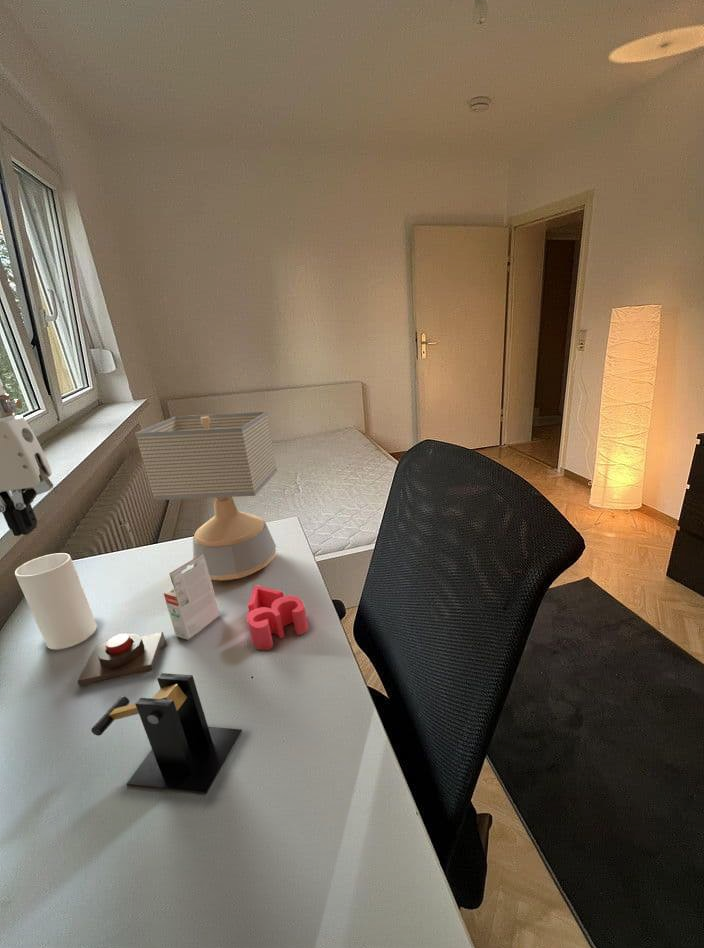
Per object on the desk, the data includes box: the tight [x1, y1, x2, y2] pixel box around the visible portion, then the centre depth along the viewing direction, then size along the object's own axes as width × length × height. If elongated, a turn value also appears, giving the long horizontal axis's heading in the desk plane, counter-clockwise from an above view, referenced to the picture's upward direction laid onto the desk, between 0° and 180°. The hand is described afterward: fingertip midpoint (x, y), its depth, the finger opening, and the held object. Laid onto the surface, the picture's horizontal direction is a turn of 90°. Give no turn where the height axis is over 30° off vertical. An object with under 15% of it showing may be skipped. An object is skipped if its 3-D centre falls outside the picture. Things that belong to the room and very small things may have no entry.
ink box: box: [163, 554, 221, 641], centre depth 84 cm, size 4×8×15 cm, turn 156°
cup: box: [14, 552, 98, 650], centre depth 84 cm, size 8×8×16 cm
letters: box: [246, 584, 309, 651], centre depth 86 cm, size 14×10×5 cm
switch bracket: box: [126, 672, 243, 795], centre depth 57 cm, size 11×9×13 cm
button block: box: [76, 631, 166, 688], centre depth 77 cm, size 11×9×4 cm
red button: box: [105, 632, 132, 655], centre depth 76 cm, size 4×4×2 cm
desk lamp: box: [134, 411, 278, 581], centre depth 101 cm, size 22×19×37 cm
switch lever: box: [90, 684, 187, 737], centre depth 57 cm, size 12×5×2 cm, turn 82°
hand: (26, 531), depth 67 cm, fingers closed
